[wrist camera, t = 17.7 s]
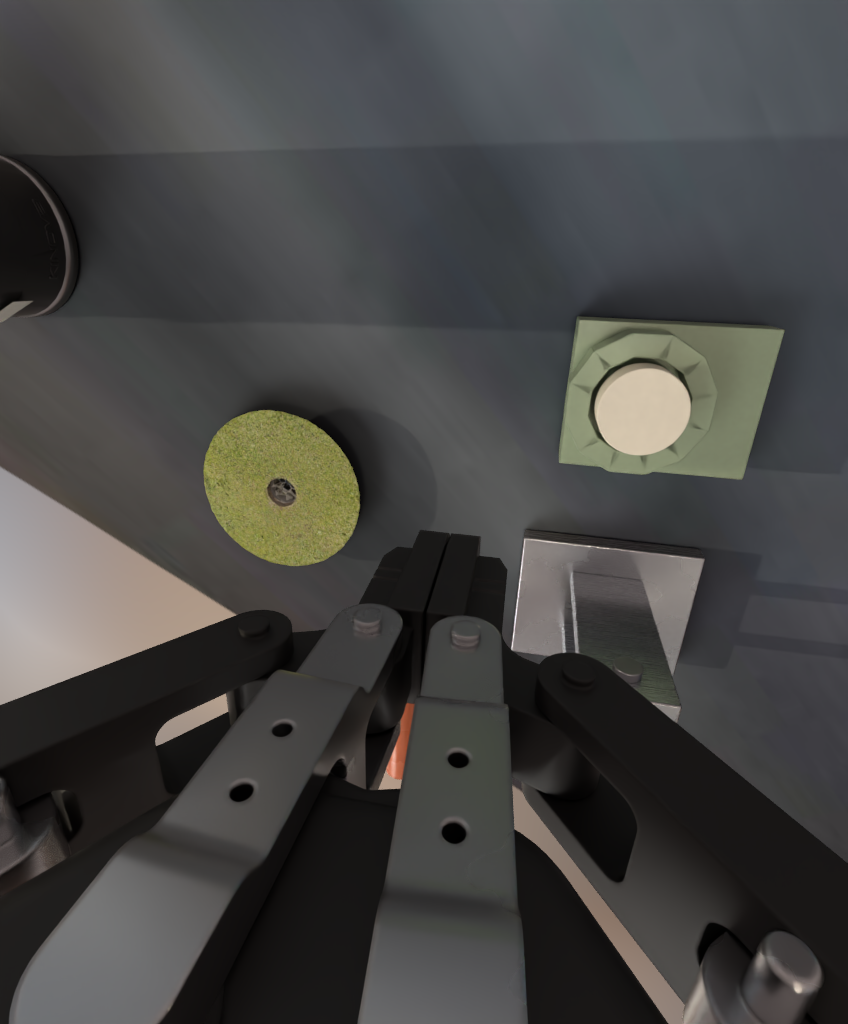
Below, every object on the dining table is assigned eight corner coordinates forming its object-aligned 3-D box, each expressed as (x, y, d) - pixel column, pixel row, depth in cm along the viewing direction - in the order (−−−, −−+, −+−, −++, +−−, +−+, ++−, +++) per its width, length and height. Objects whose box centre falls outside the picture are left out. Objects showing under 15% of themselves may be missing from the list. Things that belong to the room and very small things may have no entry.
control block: (556, 451, 35) (557, 472, 31) (574, 316, 31) (577, 322, 28) (730, 467, 33) (753, 491, 29) (769, 325, 30) (800, 333, 26)
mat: (208, 521, 42) (193, 532, 40) (229, 379, 37) (213, 385, 35) (346, 575, 41) (337, 588, 40) (386, 438, 36) (378, 447, 35)
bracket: (511, 639, 41) (498, 785, 29) (524, 528, 37) (515, 645, 26) (669, 662, 39) (721, 828, 27) (700, 548, 35) (774, 684, 24)
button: (588, 442, 30) (590, 451, 29) (601, 359, 29) (604, 365, 27) (673, 449, 30) (680, 459, 28) (692, 365, 28) (700, 371, 26)
